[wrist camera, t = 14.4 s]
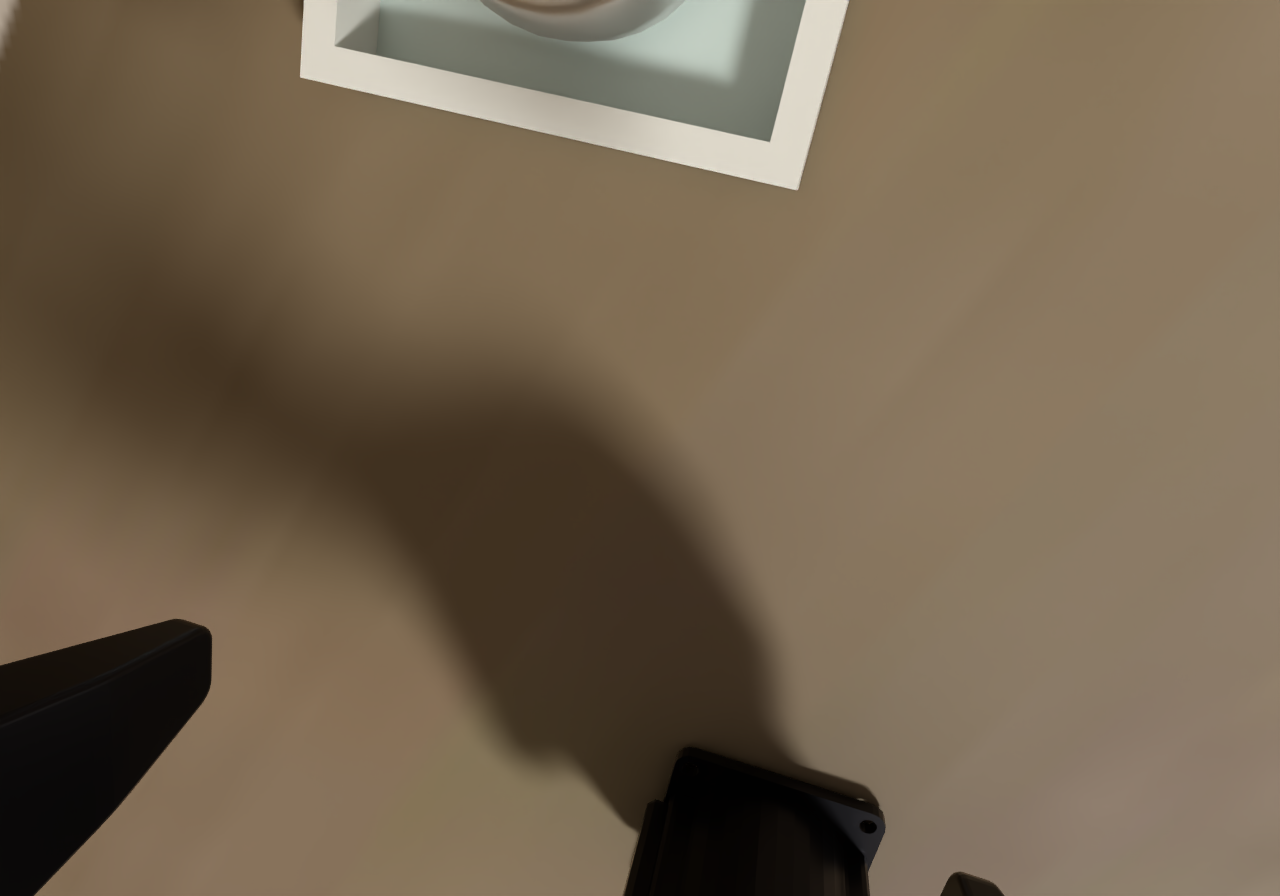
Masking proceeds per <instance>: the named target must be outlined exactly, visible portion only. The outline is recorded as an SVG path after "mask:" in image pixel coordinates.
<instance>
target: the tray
mask: <svg viewBox="0 0 1280 896" xmlns="http://www.w3.org/2000/svg"><path fill="white" fill-rule="evenodd" d="M848 4H849V0H686V1H685V2H684V3H683V4H682V5H680V6H679V7H678V8H677V9H676V10H675V11H674V12H672V13H671V14H670V15H669V16H668V17H667V18H665V19H664V20H662V21H660V22H658V23H657V24H655V25H653V26H651V27H649V28H648V29H646V30H644V31H642V32H640V33H637V34H634V35H630V36H627V37H624V38H620V39H617V40H613V41H595V42H573V41H564V40H558V39H553V38H547V37H542V36H538V35H535V34H533V33H531V32H528V31H526V30H524V29H521V28H519V27H517V26H514V25H512V24H510V23H509V22H507V21H506V20H504V19H503V18H502V17H500V16H499V15H497V14H496V13H495V12H493V11H492V10H490V9H489V8H488V7H486V6H485V5H484V4H483V3H482V2H481V1H480V0H304V11H303V31H302V51H301V70H300V77H301V78H306V79H310V80H314V81H319V82H323V83H327V84H332V85H336V86H341V87H345V88H349V89H354V90H358V91H363V92H367V93H371V94H376V95H380V96H385V97H389V98H393V99H398V100H402V101H407V102H411V103H415V104H420V105H424V106H429V107H433V108H437V109H442V110H446V111H451V112H455V113H459V114H464V115H468V116H473V117H477V118H481V119H486V120H490V121H495V122H499V123H503V124H508V125H512V126H517V127H521V128H525V129H530V130H534V131H539V132H543V133H547V134H552V135H556V136H561V137H565V138H569V139H574V140H578V141H583V142H587V143H591V144H596V145H600V146H605V147H609V148H613V149H618V150H622V151H627V152H631V153H635V154H640V155H644V156H649V157H653V158H657V159H662V160H666V161H671V162H675V163H679V164H684V165H688V166H693V167H697V168H701V169H706V170H710V171H715V172H719V173H723V174H728V175H732V176H737V177H741V178H745V179H750V180H754V181H758V182H763V183H767V184H772V185H776V186H780V187H785V188H789V189H794V190H798V189H799V185H800V181H801V178H802V174H803V170H804V167H805V163H806V159H807V156H808V152H809V148H810V144H811V141H812V137H813V133H814V130H815V126H816V122H817V119H818V115H819V111H820V108H821V104H822V100H823V96H824V93H825V89H826V85H827V82H828V78H829V74H830V71H831V67H832V63H833V60H834V56H835V52H836V48H837V45H838V41H839V37H840V34H841V30H842V26H843V23H844V19H845V15H846V11H847V8H848Z"/></svg>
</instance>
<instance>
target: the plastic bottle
mask: <svg viewBox="0 0 1280 896" xmlns="http://www.w3.org/2000/svg"><path fill="white" fill-rule="evenodd" d="M480 1H481V2H482V3H483V4H484V5H485V6H486V7H488V8H489V9H490V10H492V11H493V12H495V13H496V14H497V15H499V16H500V17H502V18H503V19H504V20H506V21H507V22H509V23H510V24H512V25H514V26H517V27H519V28H521V29H524V30H526V31H528V32H531V33H533V34H535V35H538V36H542V37H547V38H553V39H558V40H564V41H573V42H595V41H613V40H617V39H620V38H624V37H627V36H630V35H634V34H637V33H640V32H642V31H644V30H646V29H648V28H649V27H651V26H653V25H655V24H657V23H658V22H660V21H662V20H664V19H665V18H667V17H668V16H669V15H670V14H671V13H672V12H674V11H675V10H676V9H677V8H678V7H679V6H680V5H682V4H683V3H684V2H685V1H686V0H480Z"/></svg>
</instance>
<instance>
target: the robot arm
mask: <svg viewBox="0 0 1280 896" xmlns="http://www.w3.org/2000/svg"><path fill="white" fill-rule="evenodd" d="M211 674H212V635H211V633H210V631H209V629H207V628H206V627H204V626H201V625H198V624H195V623H192V622H189V621H186V620H182V619H172V620H168V621H164V622H161V623H157V624H153V625H150V626H146V627H142V628H138V629H135V630H131V631H127V632H123V633H120V634H116V635H112V636H109V637H105V638H101V639H97V640H94V641H90V642H86V643H82V644H79V645H75V646H71V647H68V648H64V649H60V650H56V651H53V652H49V653H45V654H41V655H38V656H34V657H30V658H27V659H23V660H19V661H15V662H12V663H8V664H4V665H0V896H34V895H35V894H36V893H37V892H38V891H39V890H40V889H41V888H42V887H43V886H44V885H45V884H46V883H47V882H48V881H49V880H50V879H51V877H52V876H53V875H54V874H55V873H56V872H57V871H58V870H59V869H60V868H61V867H62V866H63V865H64V864H65V863H66V862H67V861H68V860H69V859H70V858H71V857H72V856H73V855H74V854H75V853H76V852H77V850H78V849H79V848H80V847H81V846H82V845H83V844H84V843H85V842H86V841H87V840H88V839H89V838H90V837H91V836H92V835H93V834H94V833H95V832H96V831H97V830H98V829H99V828H100V826H101V825H102V824H103V823H104V822H105V821H106V820H107V819H108V818H109V817H110V816H111V815H112V813H113V812H114V811H115V810H116V809H117V808H118V807H119V805H120V804H121V803H122V802H123V801H124V800H125V798H126V797H127V796H128V795H129V794H130V793H131V791H132V790H133V789H134V788H135V786H136V785H137V784H138V783H139V781H140V780H141V779H142V778H143V776H144V775H145V774H146V773H147V771H148V770H149V769H150V768H151V766H152V765H153V764H154V763H155V761H156V760H157V759H158V758H159V756H160V755H161V754H162V753H163V752H164V750H165V749H166V748H167V747H168V745H169V744H170V743H171V742H172V740H173V739H174V738H175V737H176V735H177V734H178V733H179V732H180V730H181V729H182V728H183V727H184V725H185V724H186V723H187V722H188V720H189V719H190V718H191V717H192V715H193V714H194V713H195V712H196V710H197V709H198V708H199V707H200V705H201V704H202V703H203V701H204V700H205V698H206V696H207V694H208V692H209V689H210V685H211ZM688 762H689V763H693V764H695V765H696V766H697V767H689V766H688V765H686V763H688ZM864 820H871V821H873V823H870V824H867V823H863V822H862V821H864ZM885 828H886V827H885V818H884V815H883V812H882V811H881V810H880V809H879V808H878V807H876V806H875V805H873V804H869V803H866V802H863V801H860V800H857V799H854V798H851V797H848V796H844V795H841V794H838V793H835V792H832V791H829V790H826V789H823V788H819V787H816V786H813V785H810V784H807V783H804V782H801V781H798V780H794V779H791V778H788V777H785V776H782V775H779V774H776V773H772V772H769V771H766V770H763V769H760V768H757V767H754V766H751V765H747V764H744V763H741V762H738V761H735V760H732V759H729V758H726V757H722V756H719V755H716V754H713V753H710V752H707V751H704V750H701V749H697V748H692V747H687V748H683V749H682V750H680V751H679V752H678V754H677V756H676V760H675V763H674V767H673V770H672V774H671V777H670V781H669V784H668V787H667V791H666V794H665V798H664V801H663V802H662V801H659V800H656V799H655V800H653V801H652V802H650V803H648V805H647V808H646V812H645V815H644V819H643V822H642V826H641V830H640V833H639V837H638V840H637V844H636V847H635V851H634V855H633V858H632V862H631V866H630V870H629V873H628V877H627V881H626V885H625V889H624V893H623V896H870V891H869V880H868V870H869V868H870V866H871V863H872V861H873V859H874V856H875V854H876V852H877V849H878V847H879V845H880V842H881V840H882V838H883V835H884V833H885ZM940 896H1004V894H1003V893H1002V892H1001V890H1000V889H999V888H998V887H997V886H996V885H995V884H994V883H992V882H990V881H988V880H985V879H982V878H979V877H976V876H973V875H970V874H967V873H964V872H955V873H953V874H952V875H951V876H950V878H949V879H948V881H947V883H946V885H945V887H944V889H943V891H942V893H941V895H940Z"/></svg>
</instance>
